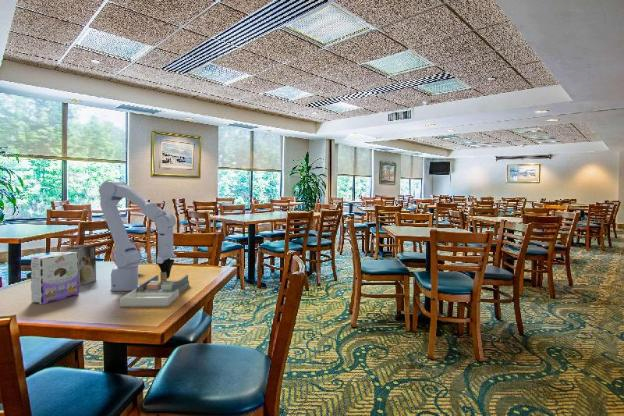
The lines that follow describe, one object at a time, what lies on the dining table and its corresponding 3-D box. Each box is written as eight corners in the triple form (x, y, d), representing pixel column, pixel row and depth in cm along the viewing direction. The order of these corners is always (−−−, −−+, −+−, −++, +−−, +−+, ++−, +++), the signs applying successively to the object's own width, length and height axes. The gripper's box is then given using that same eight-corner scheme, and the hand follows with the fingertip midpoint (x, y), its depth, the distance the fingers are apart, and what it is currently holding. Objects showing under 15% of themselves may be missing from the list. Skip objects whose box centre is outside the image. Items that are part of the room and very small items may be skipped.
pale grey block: (148, 286, 147) (148, 272, 147) (150, 284, 149) (150, 271, 149) (176, 285, 148) (176, 272, 148) (178, 284, 150) (178, 271, 150)
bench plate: (138, 296, 142) (138, 284, 141) (155, 285, 159) (155, 274, 158) (176, 296, 142) (176, 284, 142) (189, 285, 159) (189, 274, 159)
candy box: (69, 293, 146) (68, 251, 145) (79, 294, 144) (78, 252, 143) (30, 302, 133) (29, 256, 132) (41, 304, 131) (40, 257, 130)
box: (120, 306, 129) (120, 298, 129) (135, 296, 142) (135, 288, 141) (167, 306, 130) (167, 297, 130) (178, 296, 142) (178, 288, 142)
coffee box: (84, 280, 167) (83, 244, 167) (96, 280, 166) (96, 244, 165) (66, 285, 158) (66, 247, 158) (79, 285, 157) (79, 247, 156)
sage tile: (161, 290, 144) (161, 284, 144) (165, 287, 148) (165, 282, 148) (172, 289, 144) (172, 284, 144) (175, 287, 148) (175, 282, 148)
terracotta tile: (146, 290, 144) (146, 284, 144) (150, 287, 148) (150, 282, 148) (157, 290, 144) (157, 284, 144) (161, 287, 148) (161, 282, 148)
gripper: (169, 247, 143) (170, 282, 144) (181, 241, 158) (181, 274, 158) (150, 247, 143) (151, 282, 144) (164, 241, 158) (164, 274, 158)
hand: (165, 278), depth 151 cm, fingers closed
